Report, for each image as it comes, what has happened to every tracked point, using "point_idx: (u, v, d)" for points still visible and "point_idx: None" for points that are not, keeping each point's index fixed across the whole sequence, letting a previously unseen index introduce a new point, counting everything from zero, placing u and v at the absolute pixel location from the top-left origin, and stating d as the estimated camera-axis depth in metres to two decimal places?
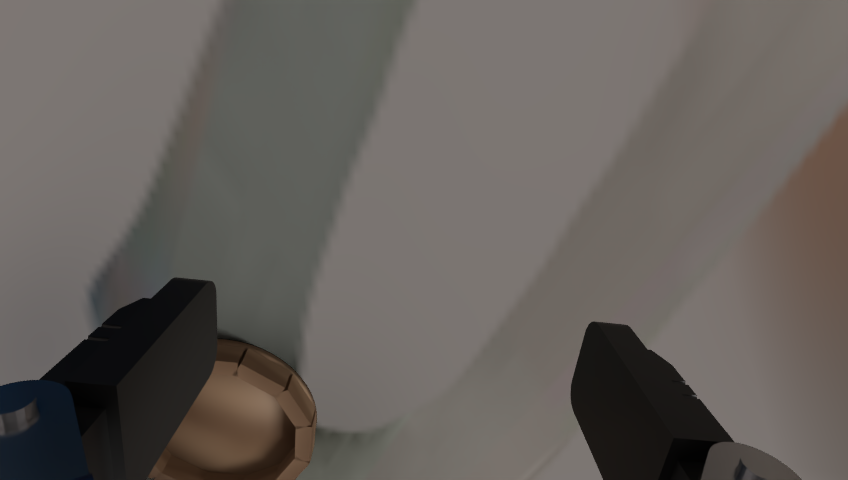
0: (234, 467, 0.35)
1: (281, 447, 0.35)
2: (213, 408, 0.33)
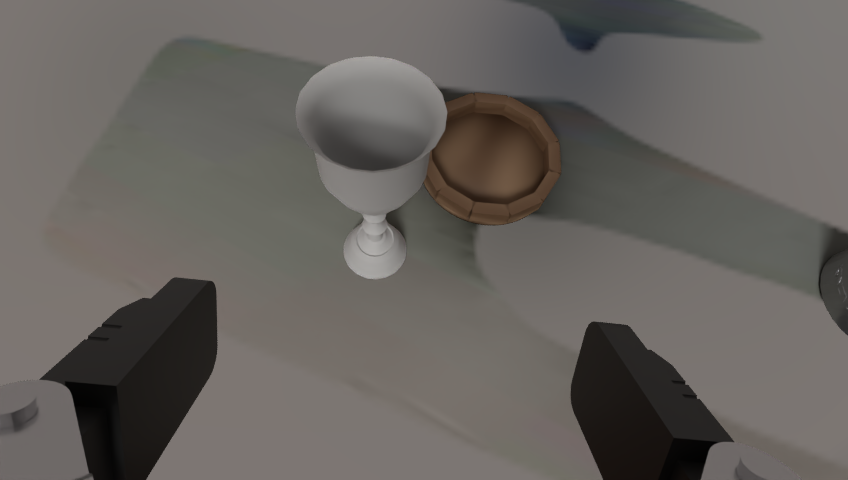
0: (437, 161, 0.44)
1: None
2: (496, 154, 0.45)
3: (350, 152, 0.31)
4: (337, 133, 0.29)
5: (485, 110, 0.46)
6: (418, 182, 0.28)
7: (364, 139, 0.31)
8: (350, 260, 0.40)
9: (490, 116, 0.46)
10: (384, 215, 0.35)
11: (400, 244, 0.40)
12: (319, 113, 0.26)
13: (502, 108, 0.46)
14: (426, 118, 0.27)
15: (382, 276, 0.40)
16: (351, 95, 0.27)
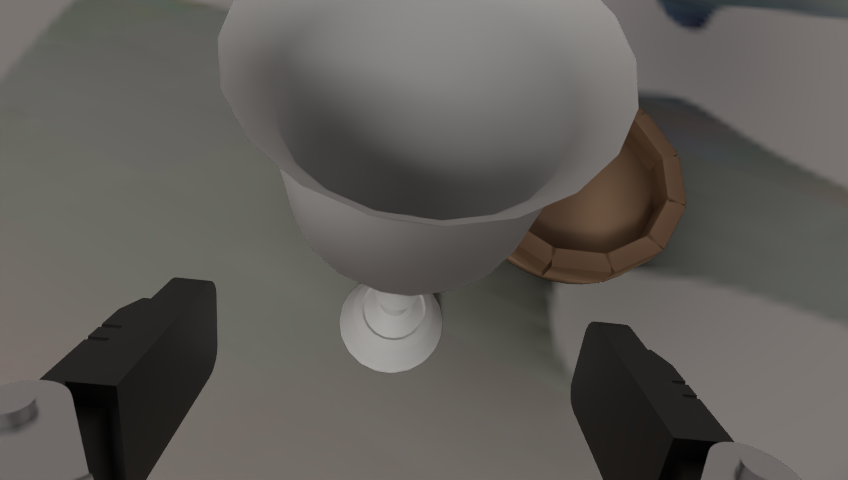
0: None
1: None
2: None
3: (362, 163, 0.15)
4: (337, 120, 0.14)
5: None
6: (522, 236, 0.12)
7: (391, 136, 0.15)
8: (350, 340, 0.24)
9: None
10: None
11: (434, 316, 0.24)
12: (293, 62, 0.10)
13: None
14: (553, 86, 0.11)
15: (403, 368, 0.24)
16: (372, 28, 0.12)
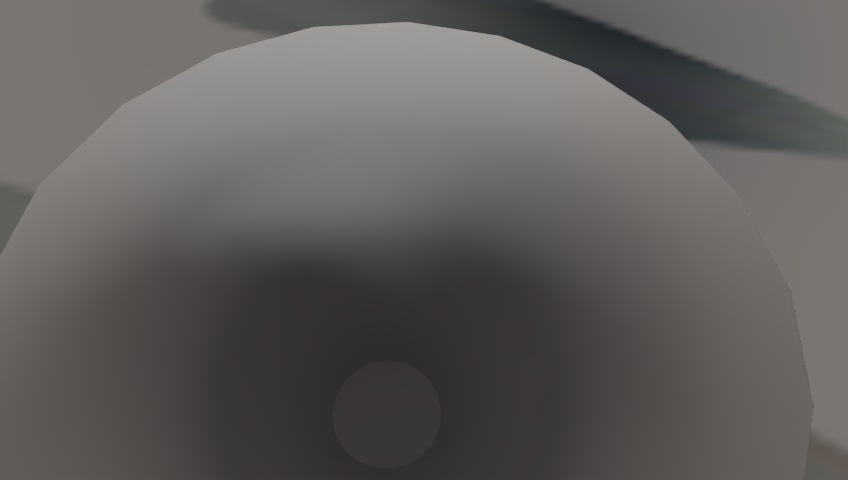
0: None
1: None
2: None
3: (326, 315, 0.11)
4: (284, 276, 0.09)
5: None
6: None
7: (366, 280, 0.11)
8: None
9: None
10: None
11: None
12: (183, 256, 0.06)
13: None
14: (613, 273, 0.07)
15: None
16: (324, 174, 0.07)
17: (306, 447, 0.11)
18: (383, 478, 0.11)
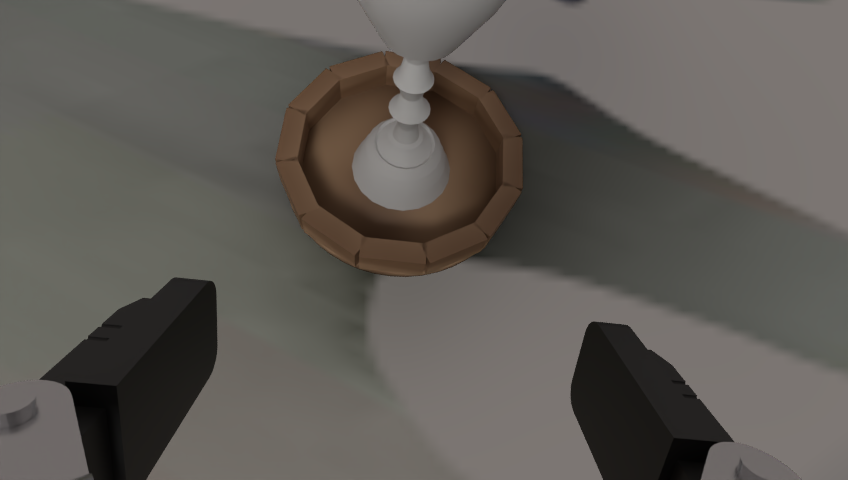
0: (315, 163, 0.26)
1: (351, 224, 0.25)
2: None
3: None
4: None
5: None
6: None
7: None
8: (363, 180, 0.25)
9: None
10: (431, 81, 0.20)
11: (443, 156, 0.25)
12: None
13: None
14: None
15: (414, 206, 0.25)
16: None
17: None
18: None
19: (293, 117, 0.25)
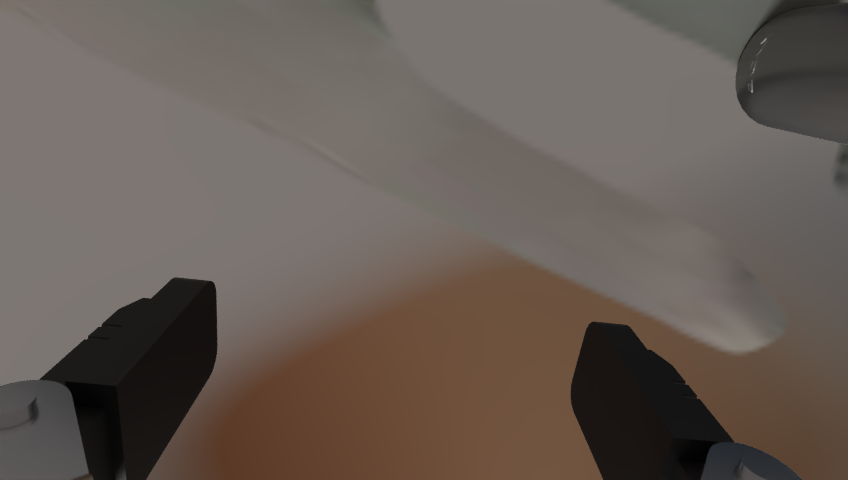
0: None
1: None
2: None
3: None
4: None
5: None
6: None
7: None
8: None
9: None
10: None
11: None
12: None
13: None
14: None
15: None
16: None
17: None
18: None
19: None
